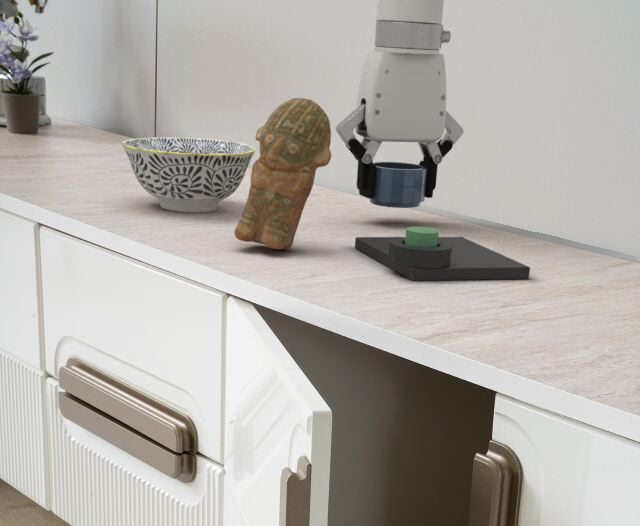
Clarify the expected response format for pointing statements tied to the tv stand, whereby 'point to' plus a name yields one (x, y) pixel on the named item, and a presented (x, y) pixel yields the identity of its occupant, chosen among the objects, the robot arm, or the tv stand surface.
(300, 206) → the figurine
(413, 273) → the black flat block
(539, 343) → the tv stand surface
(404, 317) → the tv stand surface
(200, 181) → the bowl
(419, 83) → the robot arm
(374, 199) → the small bowl
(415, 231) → the button
